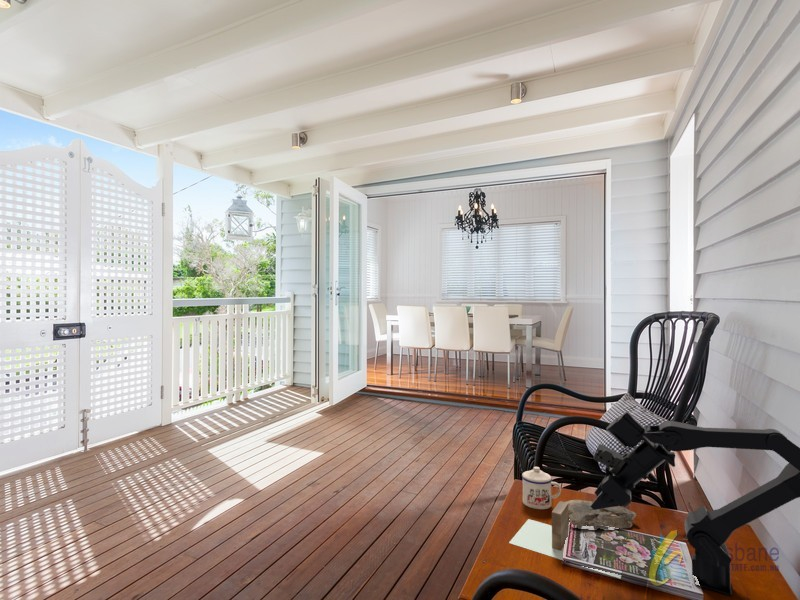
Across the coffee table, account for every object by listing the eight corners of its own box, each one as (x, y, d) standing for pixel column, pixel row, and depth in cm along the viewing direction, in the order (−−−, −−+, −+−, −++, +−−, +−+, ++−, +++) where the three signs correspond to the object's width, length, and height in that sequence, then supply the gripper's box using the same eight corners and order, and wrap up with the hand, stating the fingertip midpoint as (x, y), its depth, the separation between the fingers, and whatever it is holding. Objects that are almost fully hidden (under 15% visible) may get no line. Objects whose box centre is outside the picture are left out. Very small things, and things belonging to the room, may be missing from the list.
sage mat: (629, 549, 108) (629, 547, 108) (620, 581, 95) (620, 578, 95) (528, 521, 123) (528, 519, 123) (508, 545, 110) (508, 542, 110)
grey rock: (624, 513, 129) (557, 509, 131) (625, 497, 129) (557, 493, 131) (647, 538, 115) (571, 533, 117) (647, 520, 115) (572, 515, 117)
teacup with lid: (525, 510, 130) (525, 472, 130) (519, 498, 139) (519, 462, 139) (565, 512, 129) (565, 473, 129) (556, 499, 138) (556, 463, 138)
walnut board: (568, 537, 113) (568, 503, 113) (560, 550, 106) (560, 514, 107) (560, 534, 114) (559, 500, 114) (552, 548, 108) (551, 512, 108)
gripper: (615, 427, 113) (573, 464, 118) (610, 445, 97) (562, 487, 102) (651, 460, 109) (606, 497, 114) (652, 485, 93) (600, 527, 98)
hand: (594, 500), depth 107 cm, fingers open, 9 cm apart
